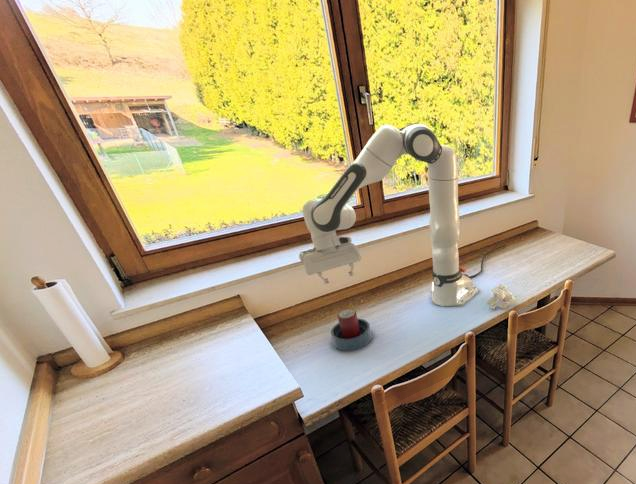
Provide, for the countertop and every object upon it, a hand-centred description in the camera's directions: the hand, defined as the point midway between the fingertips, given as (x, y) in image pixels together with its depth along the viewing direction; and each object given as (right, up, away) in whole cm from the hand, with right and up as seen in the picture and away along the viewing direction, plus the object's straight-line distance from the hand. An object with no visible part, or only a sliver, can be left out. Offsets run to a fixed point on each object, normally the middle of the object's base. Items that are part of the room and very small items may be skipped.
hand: (339, 279), depth 136 cm
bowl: (+6, -23, -2) cm, 24 cm away
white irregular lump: (+63, -10, +20) cm, 67 cm away
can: (+6, -23, -2) cm, 23 cm away
